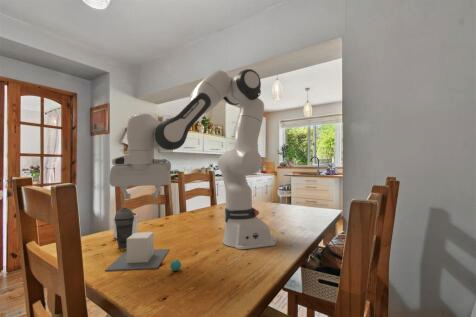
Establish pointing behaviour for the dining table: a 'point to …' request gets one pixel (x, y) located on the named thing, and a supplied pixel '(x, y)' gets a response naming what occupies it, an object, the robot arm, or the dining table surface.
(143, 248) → the white upright block
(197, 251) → the dining table surface
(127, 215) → the beverage cup
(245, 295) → the dining table surface
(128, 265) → the mat
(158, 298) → the dining table surface
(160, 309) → the dining table surface
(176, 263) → the marble
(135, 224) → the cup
